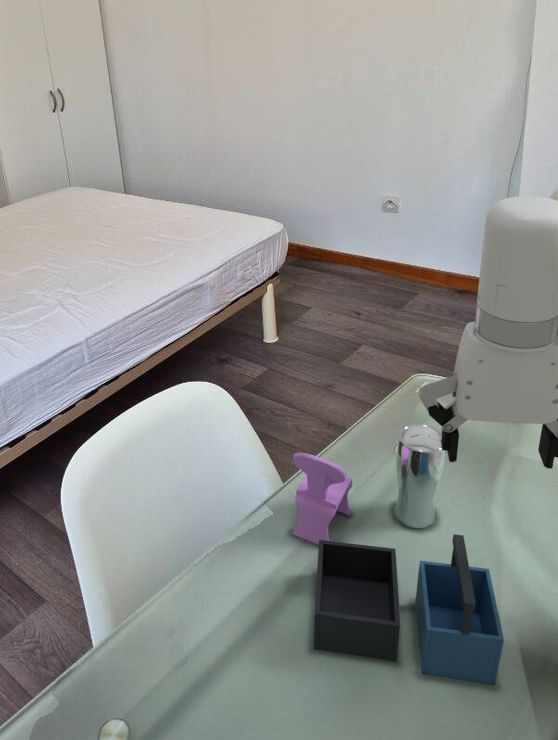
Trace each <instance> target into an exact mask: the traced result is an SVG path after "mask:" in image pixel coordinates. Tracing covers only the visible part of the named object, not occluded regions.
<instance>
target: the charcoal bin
mask: <svg viewBox="0 0 558 740" xmlns="http://www.w3.org/2000/svg"><path fill="white" fill-rule="evenodd" d="M315 582H316V583H315V600H314V612H313V613H314V615H313V616H314V617H313V619H314V621H313V650H317V651H322V652H323V651H324V652H330V653H337V654H343V655H349V656H354V657H355V656H357V657H363V658H368V659H369V658H370V659H375V660H381V661H382V660H383V661H389V662H395V663H397V662H398V652H399V643H400V633H401V617H400V616H401V615H400V601H399V600H400V598H399V597H400V596H399V585H398V584H399V583H398V582H399V581H398V566H397V551H396V548H392V547H386V546H385V547H384V546H375V545H367V544H359V543H350V542H341V541H333V540H329V541H326V540H324V541H323V540H319V545H318V553H317V567H316V581H315Z"/></svg>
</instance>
